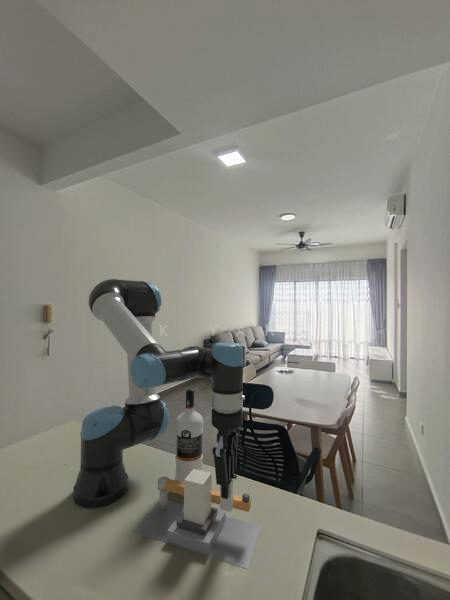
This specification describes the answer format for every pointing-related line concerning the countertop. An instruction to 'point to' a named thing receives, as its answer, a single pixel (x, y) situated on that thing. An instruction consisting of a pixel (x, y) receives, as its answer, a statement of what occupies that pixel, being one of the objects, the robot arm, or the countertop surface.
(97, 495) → the robot arm
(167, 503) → the socket block
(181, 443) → the vodka
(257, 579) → the countertop surface
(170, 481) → the orange knobbed bar
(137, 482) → the countertop surface
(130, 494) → the countertop surface
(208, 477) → the plug
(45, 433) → the countertop surface
